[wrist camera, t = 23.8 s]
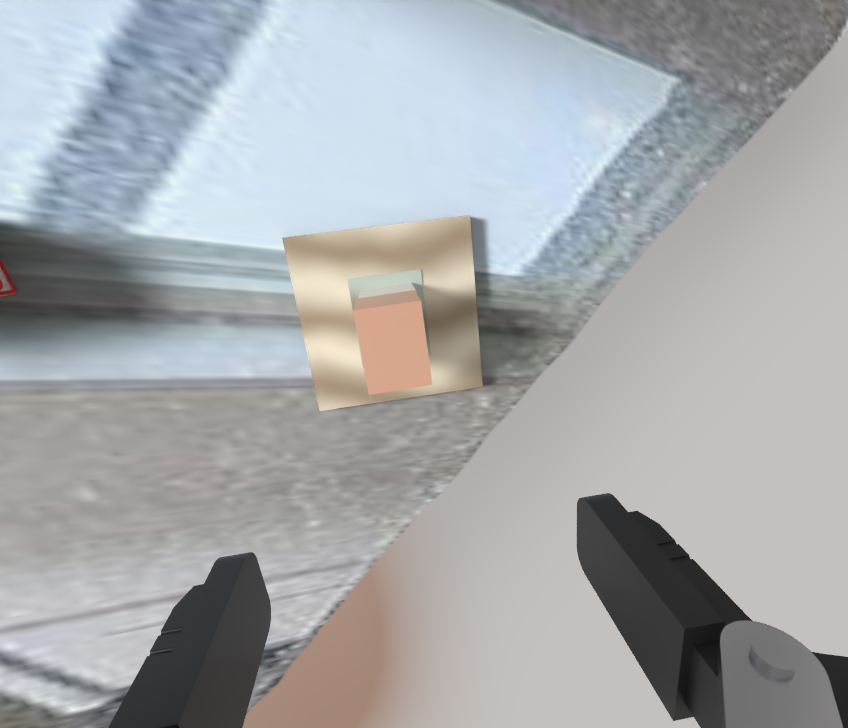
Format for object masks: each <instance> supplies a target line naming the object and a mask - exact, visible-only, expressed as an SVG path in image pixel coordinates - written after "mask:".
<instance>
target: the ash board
mask: <svg viewBox="0 0 848 728" xmlns="http://www.w3.org/2000/svg"><path fill="white" fill-rule="evenodd" d="M282 239H283V244H284V248H285V253H286V257H287V262H288V267H289V271H290V276H291V281H292V285H293V290H294V294H295V299H296V304H297V308H298V313H299V318H300V322H301V327H302V331H303V336H304V341H305V345H306V350H307V354H308V359H309V364H310V368H311V373H312V378H313V382H314V387H315V391H316V396H317V401H318V405H319V410H320V411H323V410H330V409H337V408H343V407H350V406H357V405H364V404H370V403H377V402H384V401H391V400H397V399H404V398H411V397H418V396H424V395H431V394H438V393H445V392H451V391H458V390H465V389H471V388H478V387H483V384H482V370H481V357H480V343H479V330H478V316H477V303H476V289H475V276H474V262H473V249H472V235H471V222H470V215H468V216H459V217H451V218H443V219H435V220H426V221H418V222H410V223H401V224H393V225H385V226H377V227H368V228H360V229H352V230H343V231H335V232H327V233H319V234H310V235H302V236H294V237H286V238H282ZM404 283H412V284H413V286H414V288H415V289H416V293H417V295H418V296H419V298H420V300H421V304H422V311H423V319H424V326H425V334H426V341H427V348H428V356H429V363H430V371H431V378H432V385H428V386H421V387H415V388H409V389H403V390H397V391H391V392H384V393H378V394H372V395H369V393H368V388H367V383H366V378H365V372H364V367H363V362H362V357H361V351H360V346H359V341H358V336H357V330H356V325H355V320H354V315H353V308H354V305H355V302H356V299H358V297H359V294H360V290H361V289H367V288H375V287H382V286H389V285H397V284H404Z"/></svg>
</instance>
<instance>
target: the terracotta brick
mask: <svg viewBox="0 0 848 728" xmlns="http://www.w3.org/2000/svg"><path fill="white" fill-rule="evenodd" d="M353 315H354V320H355V325H356V330H357V336H358V341H359V346H360V351H361V357H362V362H363V367H364V372H365V378H366V383H367V388H368V393H369V395H372V394H378V393H384V392H391V391H397V390H403V389H409V388H415V387H421V386H428V385H432V378H431V371H430V363H429V356H428V348H427V341H426V334H425V326H424V319H423V311H422V304H421V300H420V298H419V296H418V295H417V293H416V291H415V290H412V291H405V292H398V293H391V294H385V295H378V296H371V297H364V298H358V299H356V302H355V305H354V308H353Z"/></svg>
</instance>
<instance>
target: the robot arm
mask: <svg viewBox="0 0 848 728" xmlns="http://www.w3.org/2000/svg"><path fill="white" fill-rule="evenodd" d="M577 552H578V557H579V560H580V563H581V566H582V569H583V571H584V573H585V575H586V576H587V578H588V580H589V581H590V583H591V585H592V586H593V588H594V590H595V591H596V593H597V595H598V596H599V598H600V600H601V601H602V603H603V605H604V606H605V608H606V610H607V611H608V613H609V615H610V616H611V618H612V620H613V621H614V623H615V625H616V626H617V628H618V630H619V631H620V633H621V635H622V636H623V638H624V640H625V641H626V643H627V645H628V646H629V648H630V649H631V651H632V653H633V654H634V656H635V658H636V660H637V661H638V663H639V665H640V666H641V668H642V669H643V671H644V673H645V674H646V676H647V678H648V679H649V681H650V683H651V684H652V686H653V688H654V689H655V691H656V693H657V694H658V696H659V698H660V699H661V701H662V703H663V704H664V706H665V708H666V709H667V711H668V713H669V714H670V716H671V718H672V719H673V721H675V720H680V719H684V718H689V717H694V718H695V719H696V721H697V722H698V724H699V726H700V727H701V728H848V657H843V656H834V655H827V654H820V653H815V652H811V651H810V650H809V649H808V648H806V647H805V646H804V645H803V644H802V643H800V642H799V641H797V640H796V639H795V638H793V637H792V636H790V635H788V634H787V633H785V632H783V631H781V630H779V629H777V628H774V627H772V626H769V625H767V624H763V623H760V622H754V621H752V620H751V619H750V618H749V617H748V616H747V615H746V614H745V613H744V612H743V611H742V610H741V609H740V608H739V607H738V606H737V605H736V604H735V603H734V602H733V601H732V600H731V599H730V597H728V595H727V594H725V592H724V591H723V590H722V589H721V588H720V587H719V586H718V585H717V584H716V583H715V582H714V581H713V580H712V579H711V578H710V577H709V576H708V574H707V573H706V572H705V571H704V570H703V569H701V567H700V566H699V565H698V564H697V563H696V562H695V561H694V560H693V559H690V557H689V555H688V554H687V553H686V552H685V550H684V549H683V548H682V547H681V546H680V545H679V544H678V545H677V544H676V542H675V540H674V539H673V538H672V537H671V536H670V535H669V534H668V533H667V532H666V531H665V530H664V529H663V528H662V527H661V525H660V524H658V523H657V522H655V521H653V520H652V519H650V518H648V517H647V516H645V515H643V514H641V513H640V512H638V511H634V512H627V510H625V508H624V507H623V506H622V505H621V504H620V502H619V501H618V500H617V499H616V498H615V497H614V496H613V495H612V494H609V493H607V494H601V495H595V496H589V497H584V498H579V500H578V503H577ZM270 621H271V606H270V600H269V596H268V593H267V590H266V587H265V583H264V580H263V577H262V574H261V571H260V567H259V564H258V561H257V558H256V556H255V554H254V553H252V552H250V553H244V554H239V555H233V556H227V557H221V558H218V559H217V560H216V562H215V563H214V565H213V567H212V569H211V571H210V573H209V575H208V577H207V579H206V581H205V583H204V584H203V585H197V586H194V587H193V588H192V589H191V590H190V591H189V592H188V593H187V594H186V595H185V596H184V597H183V598H182V599H181V600H180V602H179V603H178V604H177V605H176V606H175V607H174V608H173V610H172V612H171V614H170V616H169V617H168V619H167V621H166V623H165V625H164V627H163V628H162V630H161V635H160V636H158V638H157V639H156V641H155V643H154V645H153V647H152V649H151V650H150V656H147V658H146V660H145V661H144V663H143V665H142V667H141V669H140V671H139V672H138V674H137V676H136V678H135V680H134V682H133V684H132V685H131V687H130V689H129V691H128V693H127V695H126V696H125V698H124V700H123V702H122V704H121V706H120V707H119V709H118V711H117V713H116V715H115V717H114V718H113V720H112V722H111V724H110V726H109V728H242V727H243V723H244V719H245V716H246V712H247V709H248V705H249V701H250V698H251V694H252V690H253V687H254V683H255V679H256V676H257V672H258V669H259V665H260V661H261V658H262V654H263V650H264V647H265V643H266V640H267V636H268V632H269V628H270Z"/></svg>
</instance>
